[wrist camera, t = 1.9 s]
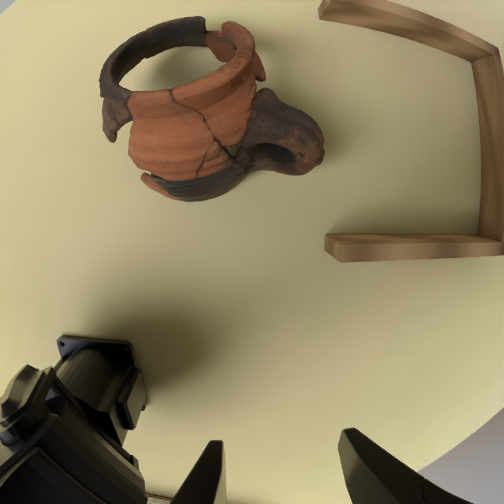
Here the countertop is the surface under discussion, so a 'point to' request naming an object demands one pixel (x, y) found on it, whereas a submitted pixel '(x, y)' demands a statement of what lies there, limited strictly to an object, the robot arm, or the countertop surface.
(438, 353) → the countertop surface
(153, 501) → the tin
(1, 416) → the robot arm
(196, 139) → the pottery mug
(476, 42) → the walnut bay
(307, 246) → the countertop surface
